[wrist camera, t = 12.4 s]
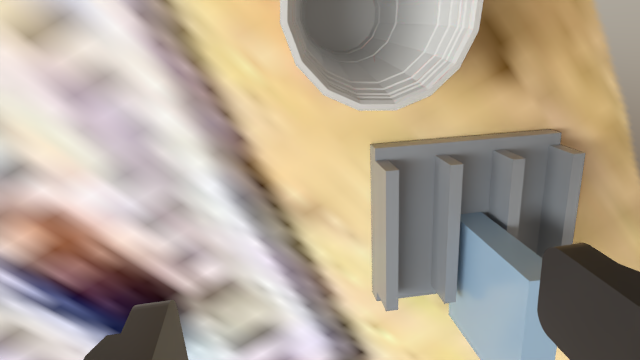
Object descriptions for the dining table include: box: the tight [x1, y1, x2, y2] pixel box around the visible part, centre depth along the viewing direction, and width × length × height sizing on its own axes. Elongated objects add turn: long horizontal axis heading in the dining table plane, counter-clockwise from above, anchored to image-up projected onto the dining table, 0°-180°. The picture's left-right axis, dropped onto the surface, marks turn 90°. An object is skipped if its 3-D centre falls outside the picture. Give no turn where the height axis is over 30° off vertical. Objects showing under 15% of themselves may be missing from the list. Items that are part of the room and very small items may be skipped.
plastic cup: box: [280, 0, 483, 110], centre depth 27 cm, size 11×11×12 cm
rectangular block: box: [449, 212, 557, 360], centre depth 34 cm, size 10×2×11 cm, turn 3°
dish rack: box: [370, 129, 585, 311], centre depth 37 cm, size 14×16×4 cm
